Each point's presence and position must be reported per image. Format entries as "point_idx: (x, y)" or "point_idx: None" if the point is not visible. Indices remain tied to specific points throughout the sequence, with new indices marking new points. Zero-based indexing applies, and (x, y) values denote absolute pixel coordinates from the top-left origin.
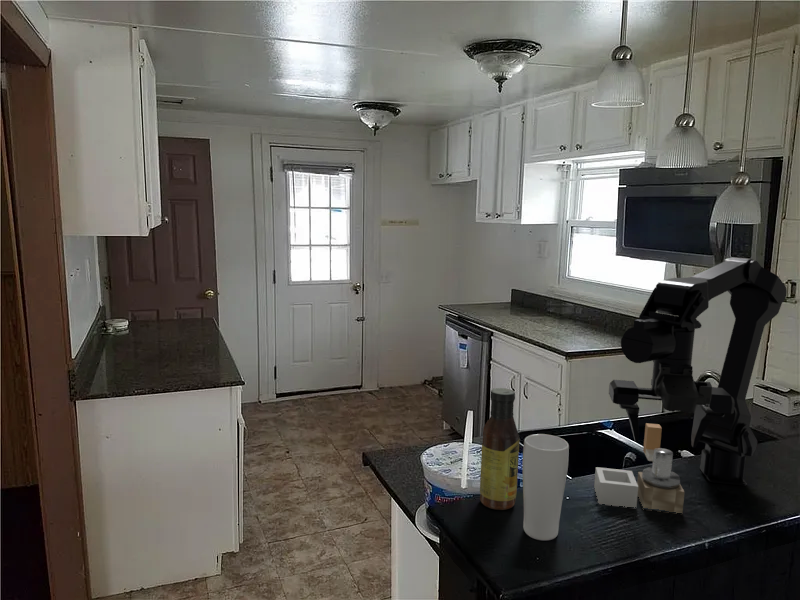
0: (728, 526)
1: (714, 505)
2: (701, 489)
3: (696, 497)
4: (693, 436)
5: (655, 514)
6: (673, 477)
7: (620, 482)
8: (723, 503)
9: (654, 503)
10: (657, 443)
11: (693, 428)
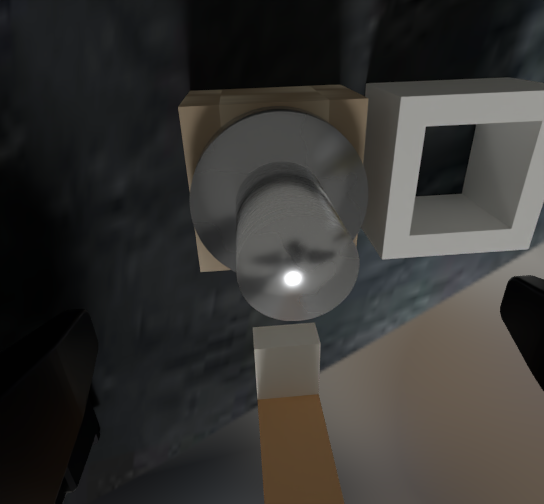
0: (7, 32)
1: (62, 207)
2: (102, 311)
3: (123, 249)
4: (58, 394)
5: (298, 54)
6: (223, 194)
7: (475, 120)
8: (29, 233)
9: (304, 89)
10: (272, 426)
11: (39, 492)
